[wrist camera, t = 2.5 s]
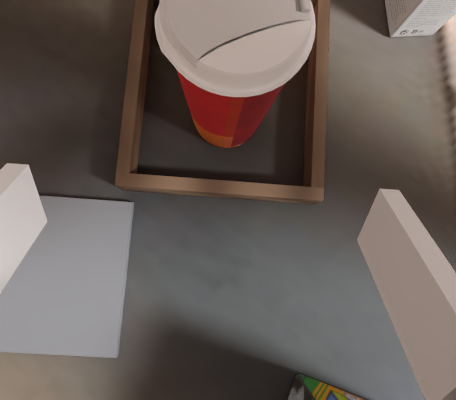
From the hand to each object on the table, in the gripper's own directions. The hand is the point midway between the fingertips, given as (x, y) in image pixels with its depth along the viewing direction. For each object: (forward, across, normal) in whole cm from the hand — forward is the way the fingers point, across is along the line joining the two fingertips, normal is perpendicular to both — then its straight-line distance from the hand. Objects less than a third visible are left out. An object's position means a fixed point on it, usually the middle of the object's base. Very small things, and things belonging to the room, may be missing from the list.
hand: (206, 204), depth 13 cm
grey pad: (+7, -12, -14) cm, 20 cm away
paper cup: (+17, +1, -4) cm, 17 cm away
